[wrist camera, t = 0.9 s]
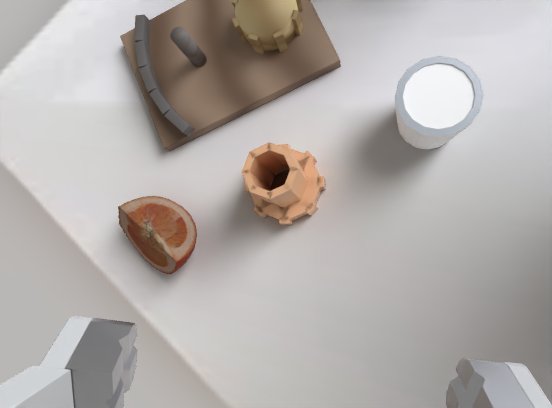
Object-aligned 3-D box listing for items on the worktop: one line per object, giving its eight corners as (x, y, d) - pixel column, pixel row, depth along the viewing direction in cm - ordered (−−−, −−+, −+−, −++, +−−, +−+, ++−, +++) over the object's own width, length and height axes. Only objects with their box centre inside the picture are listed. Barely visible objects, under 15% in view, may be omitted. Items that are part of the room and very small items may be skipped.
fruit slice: (124, 232, 48) (97, 230, 43) (164, 185, 48) (141, 177, 43) (178, 285, 46) (156, 288, 41) (219, 236, 46) (202, 233, 41)
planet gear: (305, 137, 45) (292, 111, 37) (336, 204, 44) (330, 192, 36) (240, 169, 46) (212, 150, 38) (268, 235, 45) (246, 230, 37)
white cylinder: (379, 103, 44) (382, 75, 37) (447, 76, 43) (463, 41, 36) (406, 166, 43) (414, 149, 36) (476, 139, 42) (498, 116, 35)
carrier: (285, -45, 48) (272, -95, 41) (341, 67, 45) (337, 33, 39) (126, 41, 51) (89, 8, 44) (170, 152, 48) (138, 134, 41)
